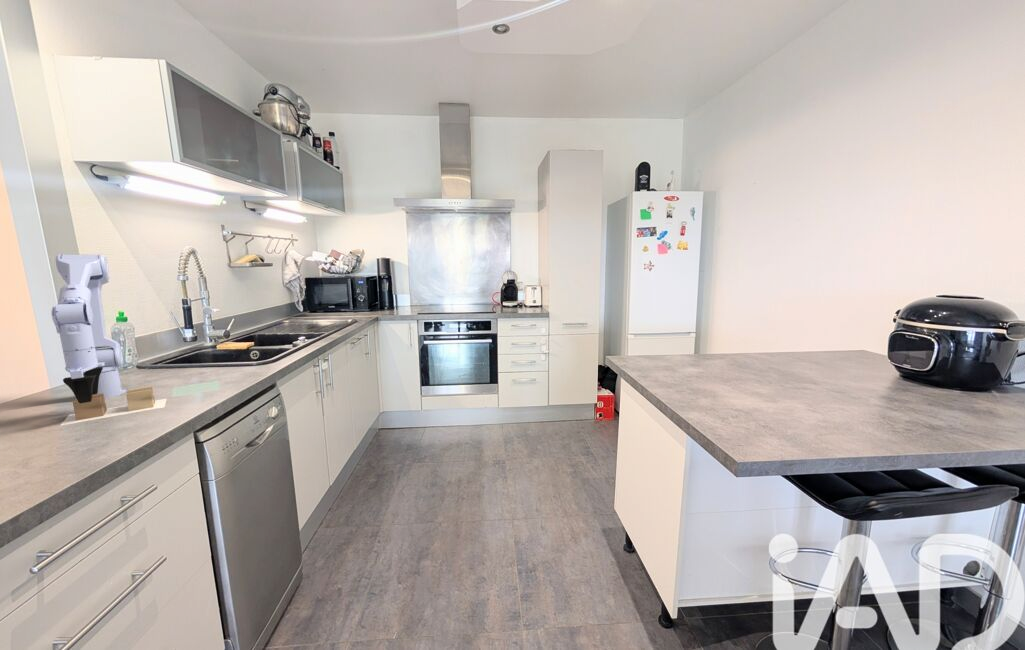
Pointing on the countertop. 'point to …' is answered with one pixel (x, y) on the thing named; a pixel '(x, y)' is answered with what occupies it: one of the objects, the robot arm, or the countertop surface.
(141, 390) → the oak block
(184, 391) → the sage pad
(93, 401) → the walnut block
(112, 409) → the board
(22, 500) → the countertop surface
